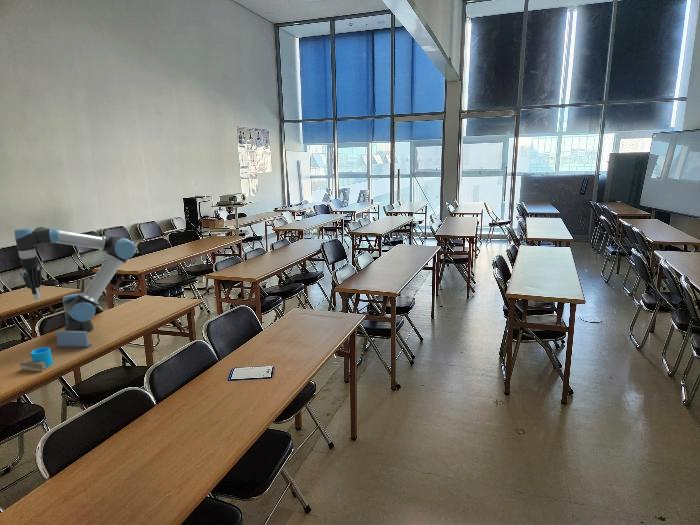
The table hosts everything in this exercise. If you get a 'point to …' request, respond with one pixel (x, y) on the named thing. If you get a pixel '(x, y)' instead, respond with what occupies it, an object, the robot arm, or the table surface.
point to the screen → (73, 339)
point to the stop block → (32, 366)
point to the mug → (42, 356)
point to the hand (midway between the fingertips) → (37, 299)
